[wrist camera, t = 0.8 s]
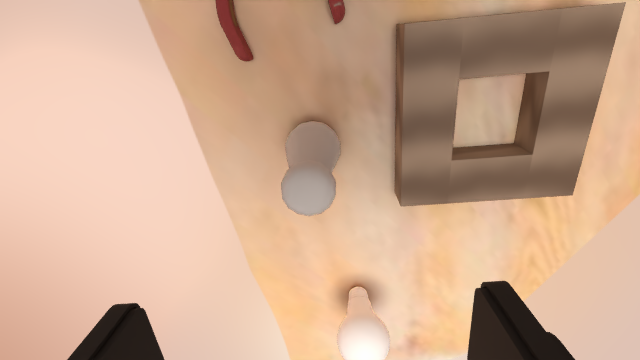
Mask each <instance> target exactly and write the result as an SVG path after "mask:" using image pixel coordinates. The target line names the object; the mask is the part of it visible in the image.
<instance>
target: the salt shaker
mask: <svg viewBox="0 0 640 360" xmlns="http://www.w3.org/2000/svg"><path fill="white" fill-rule="evenodd" d="M285 148H286V156H287V161H288V165H289V169H288V170H287V172H286V174H285V176H284V178H283V181H282V183H281V190H282V199H283V200H284V202H285V204H286V205H287V207H288V208H289V209H291V210H292V211H294V212H296V213H297V214H301V215H306V216H312V215H316V214H321V213H322V212H324V211H325V210H326V209H328V208H329V207H330V205H331V204H332V202H333V200H334V198H335V195H336V181H335V178H334V176H333V175H332V172H333V169H334V167H335V165H336V163H337V160H338V158H339V156H340V141H339V139H338V137H337V135H336V133H335V131H334V130H333V129H331V128H330V127H329V126H327V125H326V124H325V123H321V122H316V121H309V122H305V123H301V124H299V125H298V126H297V127H296V128H295V129H293V130H292V131H291V132H290V134H289V136H288V138H287V140H286V143H285Z"/></svg>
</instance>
